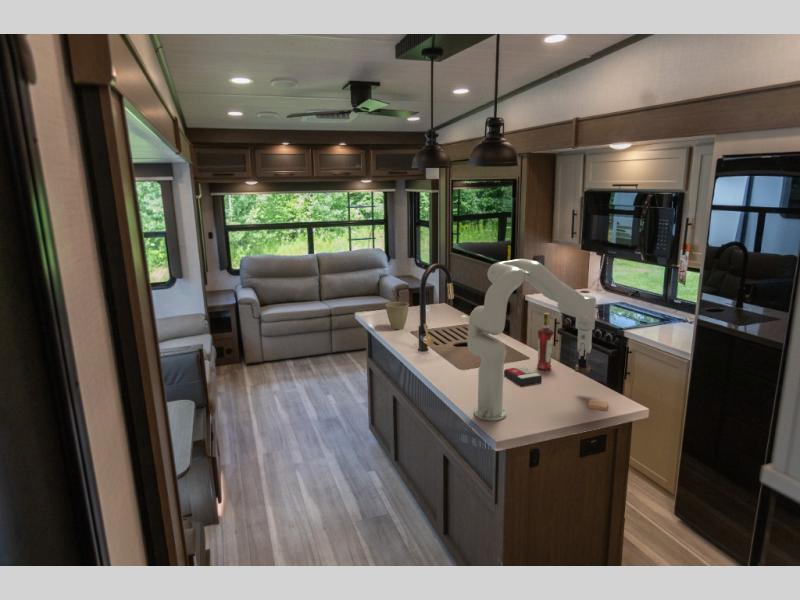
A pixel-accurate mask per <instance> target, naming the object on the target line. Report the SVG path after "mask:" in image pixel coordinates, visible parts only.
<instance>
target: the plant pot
mask: <svg viewBox="0 0 800 600" xmlns="http://www.w3.org/2000/svg"><path fill="white" fill-rule="evenodd" d="M409 306H410V303H408V302H405V301H393V302H391V301H390V302H388V303H386V304H385V310H386V314H387V318H388V322H389V325H390V326H391V329H392V328H393V330H394V329H401V330H403V329H404V328H405V325H406V323H407V319H408V314H409V308H410V307H409Z"/></svg>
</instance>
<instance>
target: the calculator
mask: <svg viewBox="0 0 800 600" xmlns="http://www.w3.org/2000/svg"><path fill="white" fill-rule="evenodd" d="M504 375H505V376H504ZM503 376H504V377H506V378H507V377H508V379H509V378H510V379H509V380H510V381H512V380H513V382H514V383H516V384H517V385H518V384H519V386H520V387H526V386H525V385H527V386H531V385H530V384H532V385H536V384H535V383H538V384H542V383H541V382H542V378H543V377H542V375H541V374H540V373H538V372H535V371H534V370H532V369H529V368H528V367H525V366H524V365H523V366H522V365H521V366H517V367H511V368H509V367H508V368H505V369H503Z"/></svg>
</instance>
